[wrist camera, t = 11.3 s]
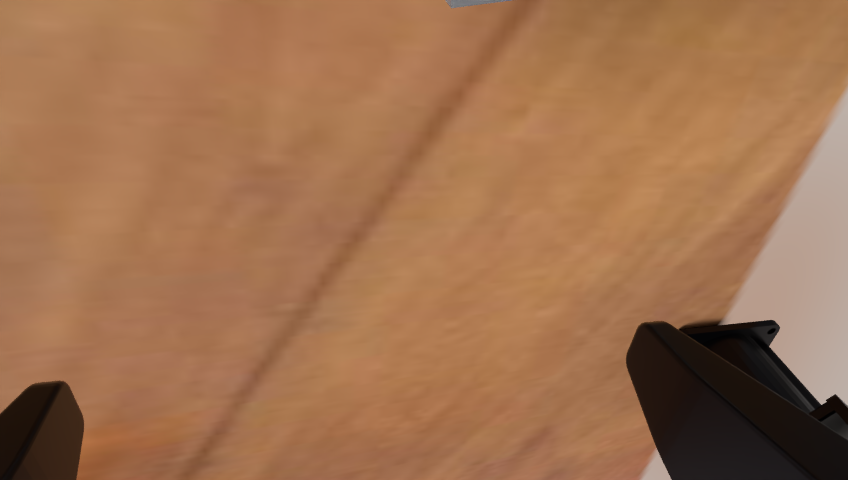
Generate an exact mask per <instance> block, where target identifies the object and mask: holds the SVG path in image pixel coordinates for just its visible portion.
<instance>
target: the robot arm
mask: <svg viewBox="0 0 848 480" xmlns="http://www.w3.org/2000/svg"><path fill="white" fill-rule="evenodd" d="M779 329H780V327H779V325H778V324H777V323H776V322H775V321H773V320H767V321H758V322H748V323H738V324H728V325H719V326H709V327H700V328H690V329H683V330H681V331H680V330H678V329H676V328H675V327H673V326H672V325H670V324H669V323H667V322H664V321H654V322H644V323H642V324H641V325H639V326H638V328H637V330H636V333H635V335H634V337H633V340H632V342H631V345H630V347H629V349H628V352H627V356H626V364H627V369H628V372H629V374H630V377H631V380H632V383H633V385H634V388H635V391H636V394H637V396H638V399H639V402H640V405H641V407H642V410H643V413H644V416H645V418H646V421H647V424H648V427H649V429H650V432H651V435H652V437H653V440H654V442H655V445H656V447H657V450H658V452H659V454H660V456H661V458H662V460H663V463H664V465H665V467H666V469H667V471H668V473H669V475H670V477H671V479H672V480H848V406H847V405H846V404H845V403H844V402H843V401H842V400H841V399H840V398H839V397H838V396H837V395H836V394H835V395H833V396H832V397H830V398H829V399H827V400H826V401H827V402H826V403H824V404H823V405H821V404H820V403H819V402H818V401H817V400H816V399H815V398H814V396H813V395H812V394H811V393H810V392H809V391H808V390H807V389H806V387H805V386H804V385H803V384H802V383H801V382H800V381H799V380H798V379H797V377H796V376H795V375H794V374H793V373H792V372H791V371H790V370H789V369H788V367H787V366H786V365H785V364H784V363H783V362H782V361H781V359H780V358H779V357H778V356H777V355H776V354H775V353H774V352H773V351H772V350H771V348H770V347H769V345H770V344H771V342H772V341H773V339H774V338H775V336H776V334H777V333H778V331H779ZM83 433H84V420H83V415H82V413H81V411H80V408H79V406H78V404H77V402H76V400H75V398H74V395H73V393H72V391H71V389H70V387H69V385H68V384H67V383H66V382H64V381H52V382H41V383H35V384H32V385H31V386H29V387H28V388H26V389H25V390H24V391H23V392H22V393H21V394H20V395H19V396H18V397H17V398H16V399H15V400H14V401H13V402H12V403H11V404H10V405H9V406H8V407H7V408H6V409H5V410H4V411H3V412H2V413H1V414H0V480H76V478H77V472H78V465H79V459H80V452H81V446H82V439H83Z"/></svg>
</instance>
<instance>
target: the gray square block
mask: <svg viewBox="0 0 848 480" xmlns="http://www.w3.org/2000/svg"><path fill="white" fill-rule="evenodd" d="M445 1H446V2H447V3H448V5H449V6H450V7H451V8H456V7H464V6H472V5H479V4H487V3H495V2H503V1H510V0H445Z"/></svg>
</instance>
